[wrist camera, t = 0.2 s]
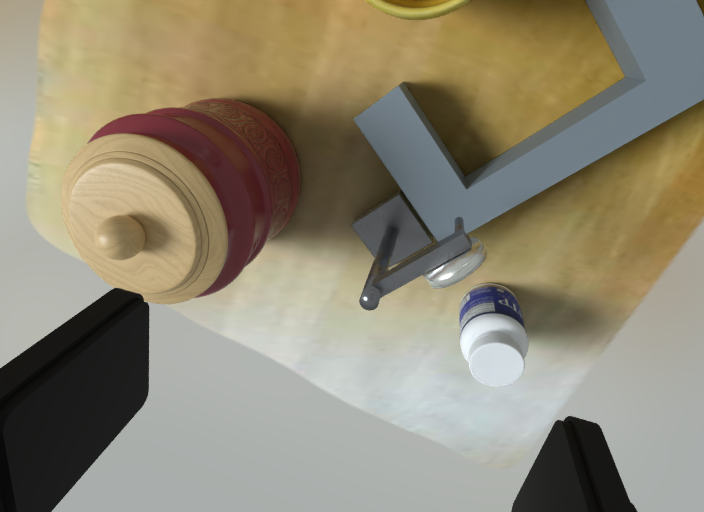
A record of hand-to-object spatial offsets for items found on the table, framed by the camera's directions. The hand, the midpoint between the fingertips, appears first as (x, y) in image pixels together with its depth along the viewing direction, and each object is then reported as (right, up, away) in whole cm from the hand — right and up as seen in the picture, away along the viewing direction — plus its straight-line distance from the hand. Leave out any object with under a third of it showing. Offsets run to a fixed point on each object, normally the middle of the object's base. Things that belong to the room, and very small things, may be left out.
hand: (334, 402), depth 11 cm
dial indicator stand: (+6, +7, +30) cm, 31 cm away
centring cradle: (+13, +15, +25) cm, 32 cm away
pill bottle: (+13, -1, +32) cm, 35 cm away
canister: (-10, +11, +32) cm, 35 cm away
